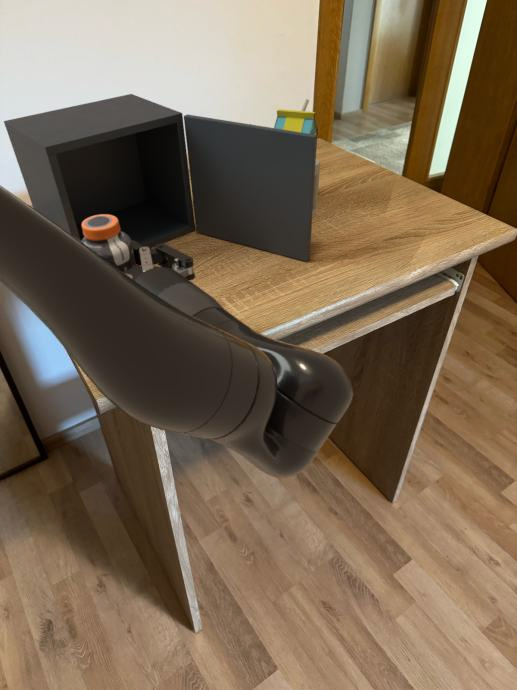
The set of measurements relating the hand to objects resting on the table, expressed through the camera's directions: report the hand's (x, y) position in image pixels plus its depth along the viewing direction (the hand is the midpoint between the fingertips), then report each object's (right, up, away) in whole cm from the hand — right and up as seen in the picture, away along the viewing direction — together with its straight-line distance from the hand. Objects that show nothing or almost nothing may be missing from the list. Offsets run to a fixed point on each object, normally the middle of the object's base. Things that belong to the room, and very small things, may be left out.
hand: (99, 255), depth 58 cm
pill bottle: (+2, -6, +3) cm, 7 cm away
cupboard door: (+19, +8, +29) cm, 35 cm away
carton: (+26, +19, +41) cm, 53 cm away
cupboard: (-6, +9, +31) cm, 33 cm away
